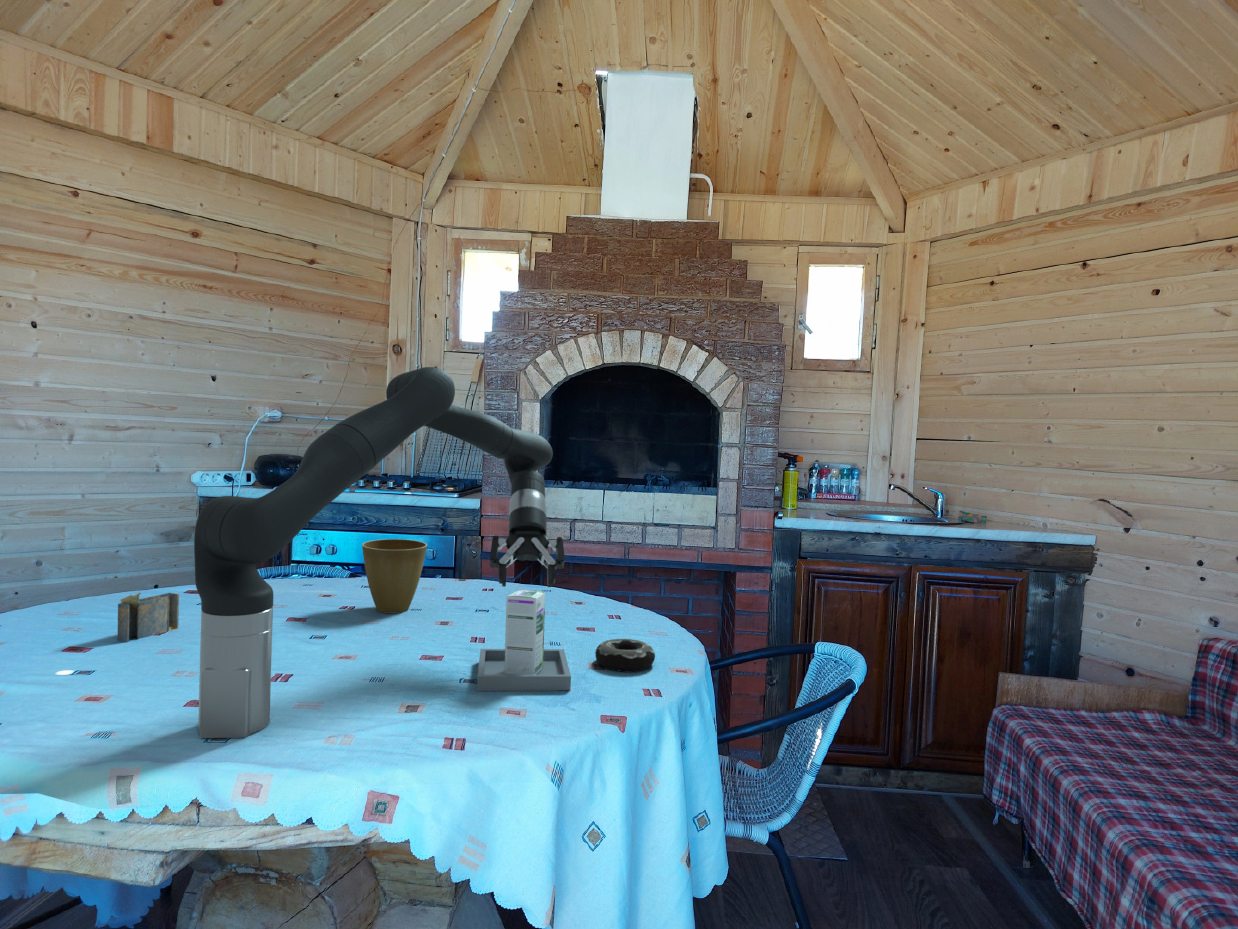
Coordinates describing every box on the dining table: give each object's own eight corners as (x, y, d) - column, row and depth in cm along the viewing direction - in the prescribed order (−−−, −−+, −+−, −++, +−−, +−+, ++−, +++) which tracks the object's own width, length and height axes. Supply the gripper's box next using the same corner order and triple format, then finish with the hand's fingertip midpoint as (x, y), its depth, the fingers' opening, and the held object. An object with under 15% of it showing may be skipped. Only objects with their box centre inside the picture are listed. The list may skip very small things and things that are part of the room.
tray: (570, 690, 129) (570, 676, 129) (476, 691, 127) (477, 676, 127) (563, 661, 145) (563, 649, 145) (479, 661, 143) (480, 648, 142)
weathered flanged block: (129, 644, 144) (130, 595, 143) (117, 642, 145) (118, 593, 144) (179, 630, 155) (181, 584, 154) (168, 629, 156) (169, 582, 155)
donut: (640, 654, 153) (641, 635, 153) (664, 672, 142) (665, 651, 142) (587, 657, 149) (588, 638, 149) (606, 676, 138) (608, 655, 138)
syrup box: (534, 678, 132) (538, 597, 132) (502, 674, 133) (506, 594, 133) (543, 668, 138) (546, 591, 137) (512, 665, 139) (516, 588, 138)
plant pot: (348, 607, 179) (351, 541, 178) (405, 599, 189) (407, 537, 188) (377, 620, 168) (380, 550, 167) (436, 612, 179) (438, 545, 178)
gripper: (492, 503, 147) (488, 573, 136) (564, 506, 149) (566, 574, 138) (491, 526, 152) (488, 595, 141) (561, 528, 154) (563, 595, 144)
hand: (527, 584), depth 140 cm, fingers open, 8 cm apart
